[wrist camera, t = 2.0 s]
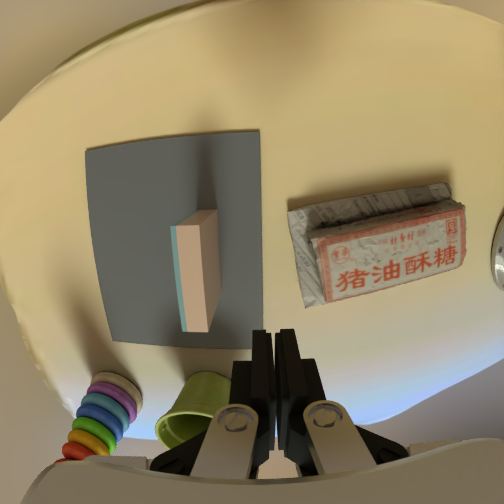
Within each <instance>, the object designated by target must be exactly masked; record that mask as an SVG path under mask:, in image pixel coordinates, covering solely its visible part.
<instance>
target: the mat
mask: <svg viewBox="0 0 504 504" xmlns="http://www.w3.org/2000/svg"><path fill="white" fill-rule="evenodd" d="M85 165H86V185H87V199H88V210H89V220H90V228H91V236H92V244H93V250H94V257H95V263H96V269H97V274H98V280H99V285H100V290H101V294H102V299H103V304H104V308H105V312H106V316H107V321H108V324H109V328H110V332H111V336H112V340H113V341H119V342H128V343H137V344H148V345H160V346H174V347H191V348H215V349H252V330H263V292H262V221H261V170H260V132H237V133H218V134H203V135H191V136H181V137H171V138H162V139H154V140H147V141H140V142H133V143H127V144H121V145H115V146H109V147H104V148H98V149H93V150H88V151H85ZM211 209H217V210H218V232H219V251H220V269H221V285H222V292H221V295H220V298H219V301H218V304H217V307H216V310H215V313H214V316H213V319H212V322H211V325H210V328H209V332H184V331H182V325H181V318H180V311H179V304H178V296H177V288H176V280H175V271H174V261H173V251H172V241H171V229H170V226H171V225H173V224H174V223H176V222H178V221H179V220H181V219H182V218H184V217H186V216H187V215H189V214H191V213H192V212H194V211H196V210H211Z"/></svg>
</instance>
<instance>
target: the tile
mask: <svg viewBox="0 0 504 504" xmlns="http://www.w3.org/2000/svg"><path fill="white" fill-rule="evenodd" d="M170 229H171V241H172V251H173V261H174V271H175V280H176V288H177V296H178V304H179V311H180V318H181V325H182V331H184V332H209V328H210V325H211V322H212V319H213V316H214V313H215V310H216V307H217V304H218V301H219V298H220V295H221V292H222V285H221V269H220V251H219V232H218V210H217V209H211V210H196V211H194V212H192V213H191V214H189V215H187V216H186V217H184V218H182V219H181V220H179V221H178V222H176V223H174V224H173V225H171V226H170Z"/></svg>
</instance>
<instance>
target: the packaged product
mask: <svg viewBox="0 0 504 504" xmlns="http://www.w3.org/2000/svg"><path fill="white" fill-rule="evenodd" d="M287 216H288V225H289V230H290V234H291V238H292V242H293V246H294V251H295V261H296V268H297V274H298V280H299V286H300V289H301V293H302V297H303V301H304V305H305V308H309V307H312V306H317V305H324V304H328V303H332V302H336V301H340V300H343V299H347V298H351V297H356V296H360V295H365V294H369V293H373V292H377V291H380V290H385V289H389V288H392V287H395V286H397V285H401V284H406V283H409V282H413V281H416V280H420V279H423V278H426V277H430V276H433V275H437V274H440V273H443V272H447V271H450V270H452V269H456V268H458V267H460V266H461V265H462V263H463V260H464V257H465V255H466V248H465V246H466V217H465V205H462V204H461V202H460V203H457V202H456V201H455V200H452V197H451V188H450V186H449V185H448V183H437V184H433V185H429V186H423V187H414V188H406V189H398V190H392V191H385V192H379V193H372V194H365V195H360V196H354V197H349V198H343V199H338V200H333V201H328V202H323V203H318V204H313V205H308V206H304V207H301V208H298V209H294V210H291V211H288V212H287Z"/></svg>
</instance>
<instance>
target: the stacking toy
mask: <svg viewBox="0 0 504 504" xmlns="http://www.w3.org/2000/svg"><path fill="white" fill-rule="evenodd" d="M142 405H143V402H142V397H141V395H140V393H139V391H138V390H137V388H136V387H135V386H134V385H133V384H132V383H131V382H130V381H128V380H127V379H125V378H124V377H122V376H120V375H117V374H114V373H110V372H101V373H98V374H96V375H95V376H94V377H93V378H92V380H91V384H90V387H89V388H88V390H87V394H86V395H85V396H84V397H83V399H82V401H81V406H80V407H79V408H78V410H77V413H76V417H77V418H76V419H75V420H74V421H73V424H72V431H71V432H70V433H69V435H68V441H69V442H68V443H66V444H64V445H63V447H62V453H63V455H64V457H65V458H62V459H60V460H57V461H56V462H54V463H58V462H63V461H82V460H84V459H85V458H86V457H88V456H91V455H106V456H110V453H111V452H113V450H115V448H116V445H117V444H116V442H118V441H120V440H121V439H122V437H123V433H124V432H125V431H126V430H127V429H128V428H129V425H130V424H131V423H132V422H133V421H134V420H135V419H136V417H137V414H138V413H139V412H140V411H141V409H142ZM54 463H53V464H54Z"/></svg>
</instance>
